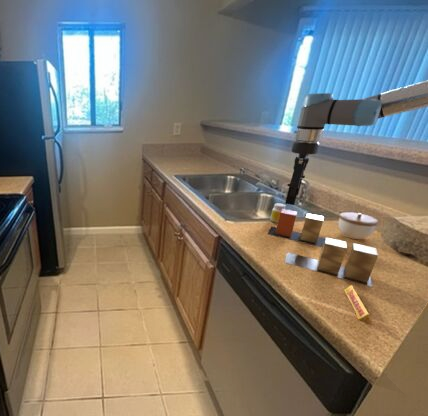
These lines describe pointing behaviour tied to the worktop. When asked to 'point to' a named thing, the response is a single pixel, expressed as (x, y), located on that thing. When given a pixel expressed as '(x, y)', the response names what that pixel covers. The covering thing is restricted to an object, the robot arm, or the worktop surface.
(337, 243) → the tan upright block
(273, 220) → the supplement bottle
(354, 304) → the chocolate bar
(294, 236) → the mat
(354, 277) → the block
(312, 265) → the light grey flat rectangle
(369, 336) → the worktop surface
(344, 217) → the trinket box
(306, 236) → the O block
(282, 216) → the block
